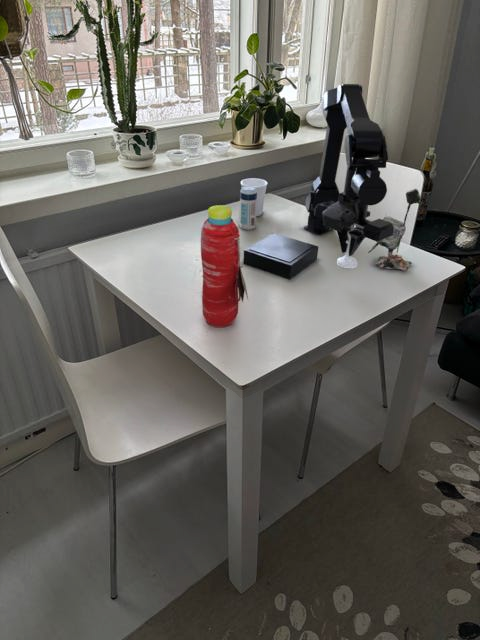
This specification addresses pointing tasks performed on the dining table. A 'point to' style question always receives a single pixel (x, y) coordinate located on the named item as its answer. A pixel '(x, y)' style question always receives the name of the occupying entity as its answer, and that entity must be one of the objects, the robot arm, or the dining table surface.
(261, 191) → the dixie cup
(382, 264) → the grey mottled stone figure
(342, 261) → the chess piece
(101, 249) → the dining table surface
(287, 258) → the stand
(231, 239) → the water bottle
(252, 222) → the white supplement bottle
